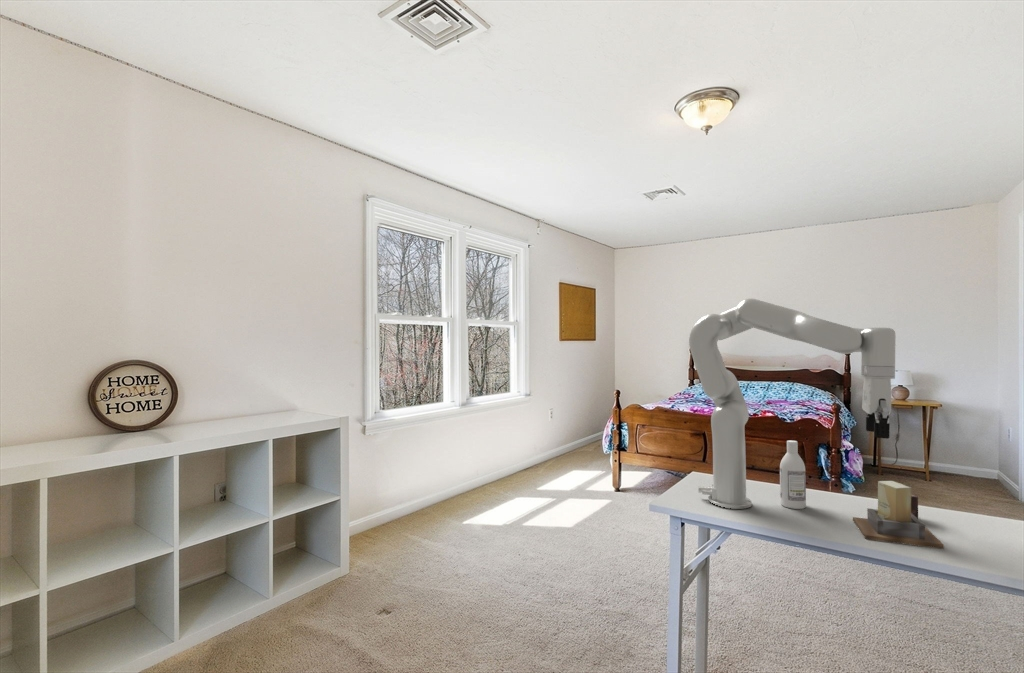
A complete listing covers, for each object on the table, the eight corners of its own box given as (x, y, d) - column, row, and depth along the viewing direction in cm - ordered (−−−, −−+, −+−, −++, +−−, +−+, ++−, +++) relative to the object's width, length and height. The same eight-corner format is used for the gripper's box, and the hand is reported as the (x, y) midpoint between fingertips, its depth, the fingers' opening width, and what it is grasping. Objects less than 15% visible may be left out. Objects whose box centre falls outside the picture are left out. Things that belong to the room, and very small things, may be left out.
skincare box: (876, 525, 135) (876, 480, 135) (891, 525, 136) (891, 480, 136) (896, 535, 129) (896, 487, 129) (912, 534, 129) (912, 487, 129)
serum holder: (865, 539, 129) (865, 521, 129) (852, 520, 142) (852, 504, 142) (943, 548, 123) (943, 530, 123) (922, 528, 136) (922, 511, 136)
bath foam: (811, 508, 153) (810, 442, 153) (794, 510, 150) (793, 444, 150) (791, 501, 159) (790, 438, 159) (775, 503, 157) (774, 440, 157)
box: (919, 523, 140) (918, 496, 140) (894, 521, 141) (894, 495, 141) (906, 515, 146) (906, 490, 146) (883, 514, 147) (883, 489, 147)
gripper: (855, 369, 147) (854, 428, 147) (868, 374, 131) (868, 439, 131) (886, 370, 144) (885, 430, 144) (904, 375, 128) (903, 442, 128)
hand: (877, 434), depth 138 cm, fingers open, 9 cm apart
